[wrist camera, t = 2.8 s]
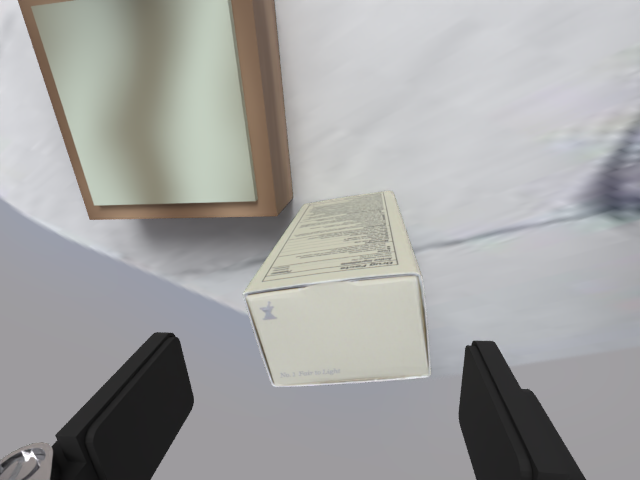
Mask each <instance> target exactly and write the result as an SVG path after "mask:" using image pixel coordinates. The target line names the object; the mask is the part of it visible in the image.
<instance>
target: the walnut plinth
mask: <svg viewBox="0 0 640 480" xmlns="http://www.w3.org/2000/svg"><path fill="white" fill-rule="evenodd" d="M18 2H19V5H20V8H21V11H22V14H23V18H24V21H25V24H26V27H27V30H28V33H29V36H30V39H31V42H32V45H33V48H34V51H35V54H36V57H37V60H38V63H39V66H40V69H41V72H42V75H43V78H44V82H45V85H46V88H47V91H48V94H49V97H50V100H51V103H52V106H53V109H54V112H55V115H56V118H57V121H58V124H59V127H60V130H61V133H62V136H63V139H64V142H65V145H66V149H67V152H68V155H69V158H70V161H71V164H72V167H73V170H74V173H75V176H76V179H77V182H78V185H79V188H80V191H81V194H82V197H83V200H84V203H85V206H86V209H87V213H88V216H89V219H90V220H102V219H155V218H208V217H262V216H278V215H279V214H280V212H281V211H282V210H283V209H284V208H285V207H286V205H287V204H288V203H289V202H290V201H291V200H292V198H293V192H292V181H291V171H290V160H289V150H288V139H287V129H286V119H285V108H284V98H283V87H282V77H281V67H280V56H279V46H278V35H277V25H276V14H275V4H274V0H18Z"/></svg>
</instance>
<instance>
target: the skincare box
mask: <svg viewBox="0 0 640 480" xmlns="http://www.w3.org/2000/svg"><path fill="white" fill-rule="evenodd" d="M242 295H243V298H244V301H245V304H246V308H247V312H248V315H249V318H250V321H251V325H252V328H253V331H254V335H255V338H256V341H257V344H258V347H259V350H260V354H261V357H262V360H263V363H264V365H265V368H266V371H267V374H268V377H269V379H270V383H271V384H272V385H273V386H274V387H292V386H316V385H333V384H347V383H362V382H379V381H390V380H405V379H418V378H427V377H429V376H430V375H431V366H430V351H429V336H428V323H427V312H426V302H425V293H424V285H423V277H422V274H421V271H420V269H419V266H418V263H417V260H416V258H415V255H414V252H413V249H412V246H411V243H410V240H409V237H408V234H407V231H406V228H405V225H404V222H403V219H402V216H401V213H400V210H399V207H398V204H397V201H396V198H395V195H394V193H393V192H392V191H384V192H377V193H369V194H362V195H356V196H349V197H343V198H336V199H330V200H324V201H319V202H314V203H308V204H304V205H303V206H302V207H301V209H300V210H299V212H298V213H297V215H296V216H295V218H294V219H293V221H292V222H291V224H290V225H289V227H288V228H287V229H286V231H285V232H284V234H283V235H282V237H281V238H280V240H279V241H278V243H277V244H276V246H275V247H274V248H273V250H272V251H271V253H270V254H269V256H268V257H267V259H266V260H265V262H264V263H263V265H262V266H261V268H260V269H259V271H258V272H257V273H256V275H255V276H254V278H253V279H252V280H251V282H250V283H249V285H248V286H247V288H246V289H245V291H244V292H243V294H242Z"/></svg>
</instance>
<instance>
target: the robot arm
mask: <svg viewBox="0 0 640 480" xmlns="http://www.w3.org/2000/svg"><path fill="white" fill-rule="evenodd" d="M193 403H194V397H193V393H192V389H191V385H190V381H189V376H188V372H187V368H186V364H185V360H184V356H183V352H182V348H181V344H180V341H179V339H178V338H177V337H175V335H174V334H173V333H158V332H157V333H154V334H153V335H152V336H151V337H150V338H149V339H148V340H147V341H146V342H145V343H144V344H143V345H142V346H141V347H140V348H139V349H138V350H137V351H136V352H135V353H134V354H133V355H132V356H131V357H130V358H129V360H127V361H126V362H125V364H124V365H123V366H122V367H121V368H120V369H119V370H118V371H117V372H116V373H115V374H114V375H113V376H112V377H111V378H110V379H109V380H108V381H107V382H106V383H105V385H103V387H101V388H100V390H98V392H97V393H96V394H95V395H94V396H93V397H92V398H91V399H90V400H89V401H88V402H87V403H86V404H85V405H84V406H83V407H82V408H81V409H80V410H79V411H78V412H77V413H76V414H75V415H74V416H73V418H71V420H70V421H69V422H68V423H67V424H66V425H65V426H64V427H63V428H62V429H61V430H60V431H59V432H58V433H57V434H56V438H57V441H56V443H55V444H54V445H53V446H50V445H49V444H48V443H43V442H40V443H32V444H29V445H27V446H24V447H21V448H19V449H17V450H15V451H13V452H11V453H10V454H8V455H7V456H5V457H4V458H2V459H1V460H0V480H151V478H152V476H153V474H154V473H155V471H156V469H157V468H158V466H159V464H160V463H161V461H162V459H163V457H164V456H165V454H166V452H167V451H168V449H169V447H170V445H171V444H172V442H173V440H174V439H175V437H176V435H177V434H178V432H179V430H180V428H181V427H182V425H183V423H184V422H185V420H186V418H187V417H188V415H189V413H190V411H191V410H192V407H193ZM459 422H460V426H461V430H462V433H463V436H464V440H465V443H466V446H467V450H468V453H469V456H470V459H471V463H472V466H473V469H474V473H475V476H476V479H477V480H586V479H585V477H584V476H583V474H582V472H581V471H580V469H579V467H578V466H577V464H576V462H575V461H574V459H573V457H572V456H571V454H570V452H569V451H568V449H567V447H566V446H565V444H564V442H563V441H562V439H561V437H560V436H559V434H558V432H557V431H556V429H555V427H554V426H553V424H552V422H551V421H550V419H549V417H548V416H547V414H546V412H545V411H544V409H543V408H542V406H541V404H540V402H539V401H538V399H537V397H536V396H535V395H534V393H533V392H532V391H530V390H529V389H521V388H520V386H519V384H518V382H517V380H516V379H515V377H514V375H513V374H512V372H511V370H510V368H509V366H508V365H507V363H506V361H505V359H504V357H503V356H502V354H501V352H500V350H499V349H498V347H497V345H496V344H495V342H493V341H473V342H472V346H469V345H467V346H466V348H465V357H464V367H463V376H462V386H461V396H460V405H459Z"/></svg>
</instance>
